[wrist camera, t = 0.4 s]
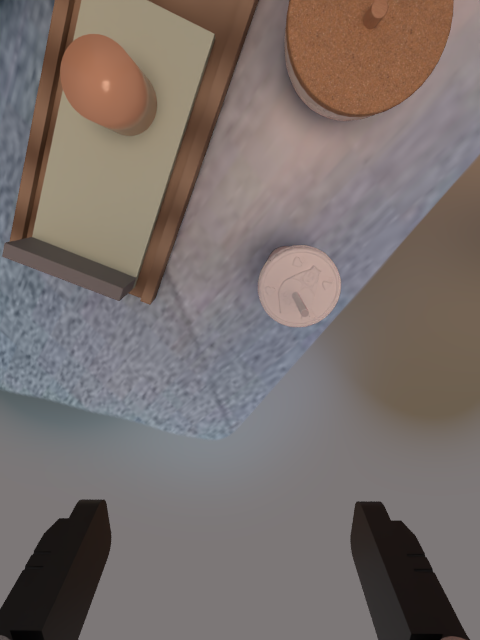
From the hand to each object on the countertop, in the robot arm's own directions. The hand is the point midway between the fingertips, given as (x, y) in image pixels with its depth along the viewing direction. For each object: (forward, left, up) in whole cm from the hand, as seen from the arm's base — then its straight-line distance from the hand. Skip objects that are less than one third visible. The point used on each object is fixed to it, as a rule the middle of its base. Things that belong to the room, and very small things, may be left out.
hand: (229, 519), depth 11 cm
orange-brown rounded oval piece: (-12, -15, -25) cm, 31 cm away
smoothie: (-5, +3, -28) cm, 28 cm away
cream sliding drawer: (-8, -15, -25) cm, 31 cm away
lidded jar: (-22, 0, -28) cm, 35 cm away
